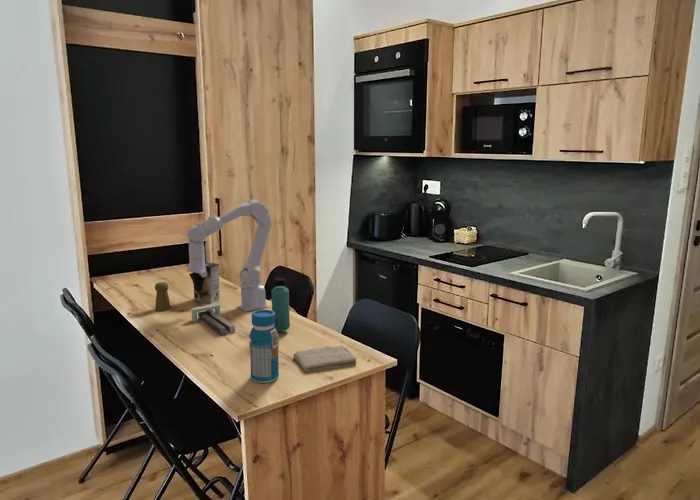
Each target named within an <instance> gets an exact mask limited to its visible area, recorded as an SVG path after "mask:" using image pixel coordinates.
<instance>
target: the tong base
mask: <svg viewBox="0 0 700 500" xmlns="http://www.w3.org/2000/svg"><path fill="white" fill-rule="evenodd" d="M209 313H210V312H208V311H207V310H206V311H200V312H197V320H199V321H201V322H202V323H203V324H205V325H206V326H207V327H209V328H210V329H211V330H212V331H214V332H215V333H216V334H218V335H219V336H225V335H226V334H227V331H226V328H225V327H224V326H222V325H221V324H220V323H218V322H217V321H215V320H214V319H213V318H211V317H210V316H209Z"/></svg>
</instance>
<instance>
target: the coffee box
mask: <svg viewBox="0 0 700 500" xmlns="http://www.w3.org/2000/svg"><path fill="white" fill-rule="evenodd" d="M205 268H206V272H207V277H206V278H205V280H204V283H203V288H202V291H199V292H196V291H195V288H194V287H193V295H194V296H193V298H194V301H195V302H200V303H206V304H215V303H216V302H217V301H220V300H221V299H220V298H221V297H220V295H221V294H220V264H219V263H215V262H207V261H205Z"/></svg>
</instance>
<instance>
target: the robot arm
mask: <svg viewBox="0 0 700 500" xmlns="http://www.w3.org/2000/svg"><path fill="white" fill-rule="evenodd" d="M269 212H270V211H269V209H268V207H267V206H266V205H265V203H263V202H261V201H259V200H256V199H249V200H248V201H246V202H243V203H241V204H239V205H237V206H236V207H234V208H232V209H231V210H228V211H227V212H225V213H224V214H222V215H220V216H216V215H215V216H214V215H213V216H211V215H210V216H208V217H207V219H206V220H203V221H202V222H198V223H196V225H192V226H190V227H189V228H188V230H187V232H186V237H188V257H189V264H188V268H187V269H186V272H191V273H189V274H188V275H189V277H190V279H191V280H192V283H193V289H194V288H195V291H196V292H199V291H202V288H203V283H204V280H205V278H206V277H207V272H206V268H205V262H206V258H205V257H206V255H205V245H204V244H205V243H204V240H205V238H207V237H209V236H211V235H213V234H215V233H216V232H218V231H220V230H222V228H223V226H224V225H225V224H227V223H229V222H231V221H233V220H235V219H237V218H240V217H251V218H252V219H253V220H254V222H255V223H256V224H257V226H256V230H255V234H254V236H253V240H252V245H251V247H250V251H249V254H248V258H247V261H246V263H245V264H244V267H243V269H242V270H241V271H240V273H239V280H240V282H241V285H240V297H241V299H240V301H241V302H240V303H241V304H238V305H237V307H239V308H240V310H243V311H245V312H249V311H254V310H255V311H256V310H261V309H264V308H267V305H266V304H267V301H266V300H267V299H266V298H267V297H266V289H265V286H264V285H263V284H260V282H261V277H260V274H261V267H260V265H261V264H262V263H261V261H262V259H263V255H264V251H265V248H266V246H267V245H266V244H267V241H268V238H269V234H270V230H271V227H272V221H271V217H270V214H269Z"/></svg>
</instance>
